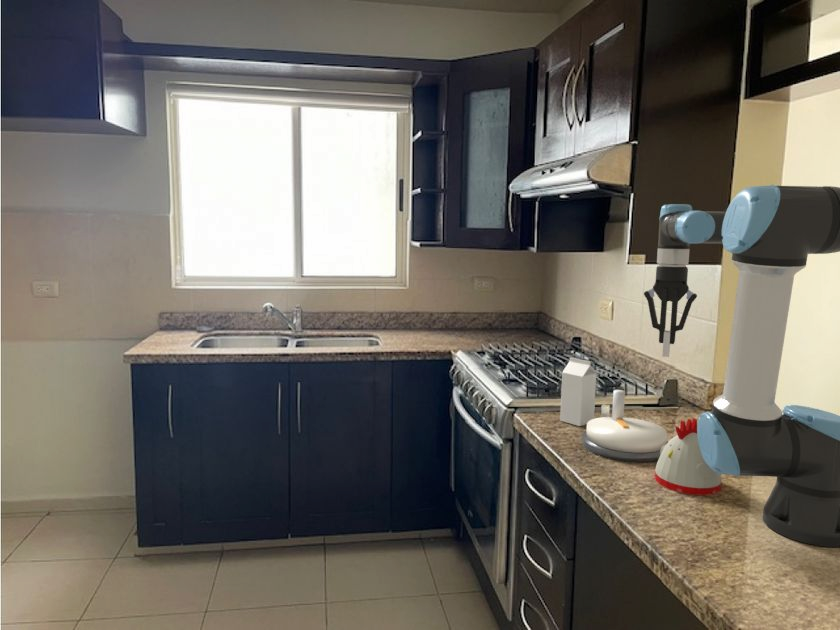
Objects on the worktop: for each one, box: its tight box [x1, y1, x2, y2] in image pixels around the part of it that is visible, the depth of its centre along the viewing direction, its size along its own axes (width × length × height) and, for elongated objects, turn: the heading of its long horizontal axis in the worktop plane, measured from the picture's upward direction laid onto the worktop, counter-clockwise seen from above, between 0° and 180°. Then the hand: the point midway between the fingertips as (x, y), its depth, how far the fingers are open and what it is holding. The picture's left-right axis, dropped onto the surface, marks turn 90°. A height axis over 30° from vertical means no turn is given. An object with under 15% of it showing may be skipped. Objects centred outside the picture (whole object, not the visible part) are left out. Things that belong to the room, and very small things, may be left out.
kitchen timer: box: [654, 417, 722, 496], centre depth 139 cm, size 14×14×15 cm
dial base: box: [581, 403, 669, 464], centre depth 163 cm, size 25×22×7 cm
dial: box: [585, 389, 668, 453], centre depth 161 cm, size 20×20×11 cm
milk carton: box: [559, 357, 597, 427], centre depth 182 cm, size 7×7×19 cm
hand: (665, 355), depth 160 cm, fingers closed
